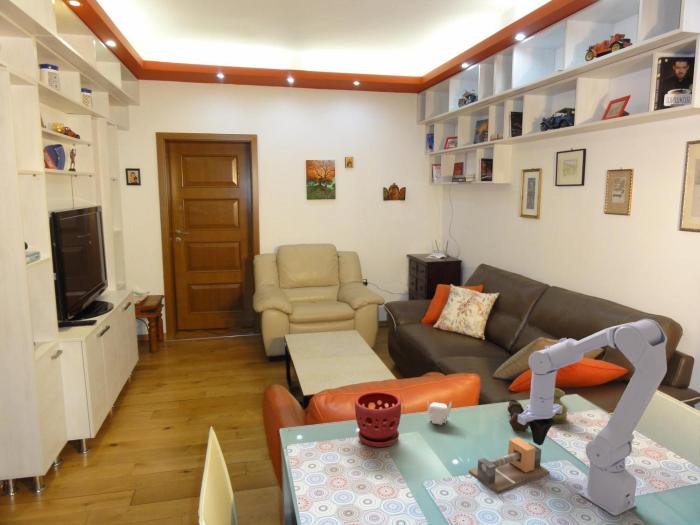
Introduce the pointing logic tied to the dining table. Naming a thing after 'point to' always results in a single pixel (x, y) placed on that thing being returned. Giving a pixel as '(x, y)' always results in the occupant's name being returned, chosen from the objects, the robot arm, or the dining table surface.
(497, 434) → the dining table surface
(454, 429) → the dining table surface
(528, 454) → the collar
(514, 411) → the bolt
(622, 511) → the robot arm
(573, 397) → the dining table surface
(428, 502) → the dining table surface
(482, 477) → the sliding block rail
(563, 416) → the olive green vase
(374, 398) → the plant pot
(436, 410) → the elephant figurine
